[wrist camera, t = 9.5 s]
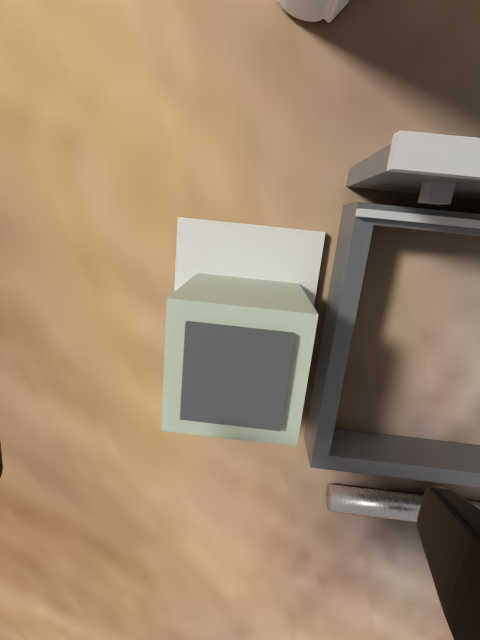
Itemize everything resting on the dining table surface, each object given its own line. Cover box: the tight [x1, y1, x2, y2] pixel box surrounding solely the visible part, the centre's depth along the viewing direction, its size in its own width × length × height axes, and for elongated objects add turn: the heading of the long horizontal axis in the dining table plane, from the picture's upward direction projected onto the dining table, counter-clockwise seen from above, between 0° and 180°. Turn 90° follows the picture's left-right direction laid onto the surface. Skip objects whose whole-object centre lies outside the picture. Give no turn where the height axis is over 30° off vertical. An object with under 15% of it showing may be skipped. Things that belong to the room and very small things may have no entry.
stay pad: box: [174, 217, 326, 306], centre depth 18 cm, size 7×10×1 cm
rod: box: [326, 484, 480, 522], centre depth 20 cm, size 12×1×1 cm, turn 84°
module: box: [161, 273, 319, 446], centre depth 15 cm, size 5×5×6 cm
